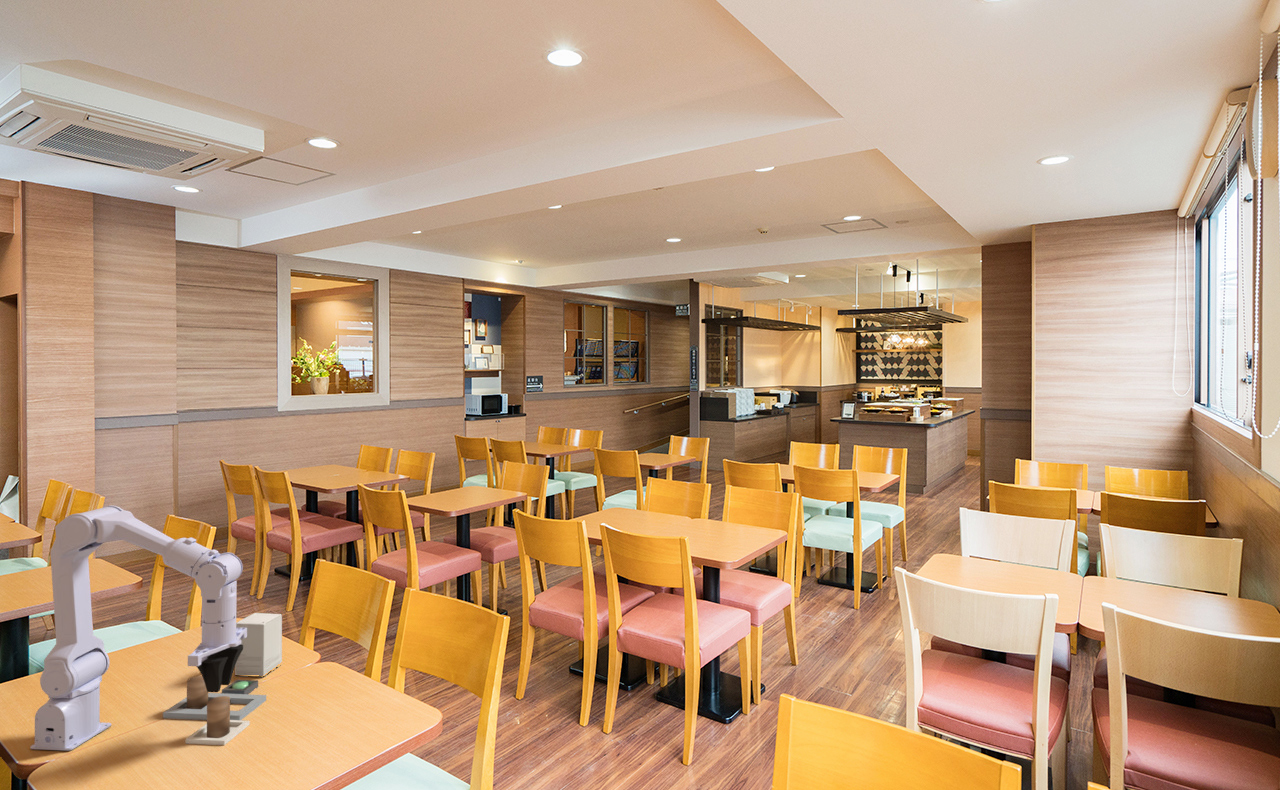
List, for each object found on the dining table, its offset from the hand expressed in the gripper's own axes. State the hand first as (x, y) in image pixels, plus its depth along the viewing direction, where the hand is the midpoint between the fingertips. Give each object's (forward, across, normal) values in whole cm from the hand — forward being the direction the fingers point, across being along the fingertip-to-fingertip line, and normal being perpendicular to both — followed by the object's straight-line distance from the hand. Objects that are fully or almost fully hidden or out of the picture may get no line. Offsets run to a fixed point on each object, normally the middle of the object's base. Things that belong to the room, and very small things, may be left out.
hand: (218, 687), depth 131 cm
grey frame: (+9, +10, +7) cm, 15 cm away
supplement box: (+10, +29, +10) cm, 32 cm away
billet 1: (+9, +10, +11) cm, 17 cm away
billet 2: (+9, 0, 0) cm, 9 cm away
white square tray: (+9, 0, 0) cm, 9 cm away
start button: (+10, +18, +7) cm, 21 cm away
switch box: (+9, +18, +7) cm, 21 cm away
